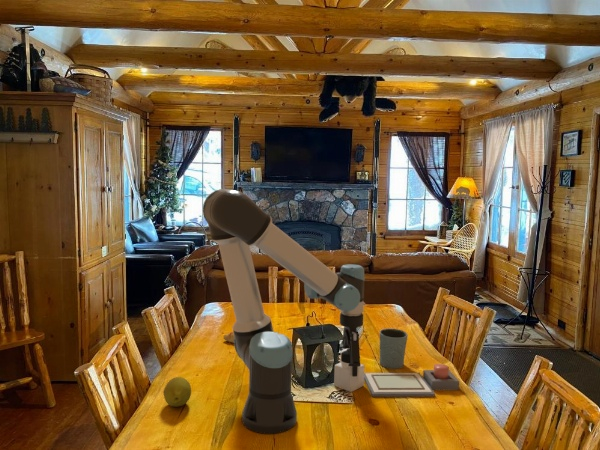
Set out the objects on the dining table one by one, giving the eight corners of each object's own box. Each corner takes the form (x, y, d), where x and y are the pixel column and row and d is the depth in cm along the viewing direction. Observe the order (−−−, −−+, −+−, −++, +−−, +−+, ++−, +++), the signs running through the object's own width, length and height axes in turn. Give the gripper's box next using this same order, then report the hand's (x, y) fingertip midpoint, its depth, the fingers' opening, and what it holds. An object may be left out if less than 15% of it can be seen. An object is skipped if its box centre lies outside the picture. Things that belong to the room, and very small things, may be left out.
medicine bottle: (364, 386, 159) (365, 350, 158) (351, 392, 154) (352, 356, 152) (346, 379, 164) (348, 344, 162) (333, 385, 158) (334, 350, 157)
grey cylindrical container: (388, 357, 185) (390, 326, 184) (411, 365, 178) (413, 333, 176) (372, 364, 178) (373, 332, 177) (395, 372, 171) (397, 339, 169)
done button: (450, 381, 159) (451, 369, 159) (436, 381, 159) (436, 369, 158) (445, 375, 164) (445, 364, 164) (431, 375, 164) (431, 364, 163)
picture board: (434, 396, 152) (435, 391, 152) (372, 396, 151) (372, 392, 151) (419, 375, 168) (419, 371, 168) (362, 375, 167) (362, 371, 167)
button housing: (458, 390, 157) (459, 381, 157) (431, 390, 157) (432, 381, 157) (448, 378, 166) (449, 370, 166) (422, 378, 166) (423, 370, 165)
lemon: (168, 396, 147) (168, 371, 147) (194, 397, 148) (194, 372, 147) (158, 414, 137) (158, 387, 136) (186, 414, 137) (186, 387, 136)
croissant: (222, 352, 195) (221, 338, 191) (224, 333, 204) (223, 320, 199) (275, 351, 197) (275, 337, 192) (274, 332, 205) (275, 319, 201)
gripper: (371, 324, 144) (369, 393, 146) (356, 302, 169) (354, 361, 171) (346, 324, 143) (344, 393, 146) (334, 302, 168) (333, 361, 170)
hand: (350, 376), depth 158 cm, fingers open, 13 cm apart
